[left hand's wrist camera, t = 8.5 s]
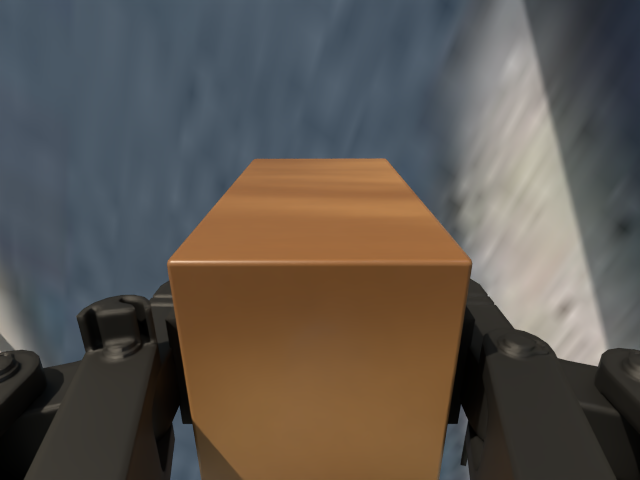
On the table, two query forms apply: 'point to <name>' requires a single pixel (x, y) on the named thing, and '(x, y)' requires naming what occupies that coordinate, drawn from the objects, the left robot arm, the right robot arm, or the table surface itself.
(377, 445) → the bar
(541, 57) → the table surface
